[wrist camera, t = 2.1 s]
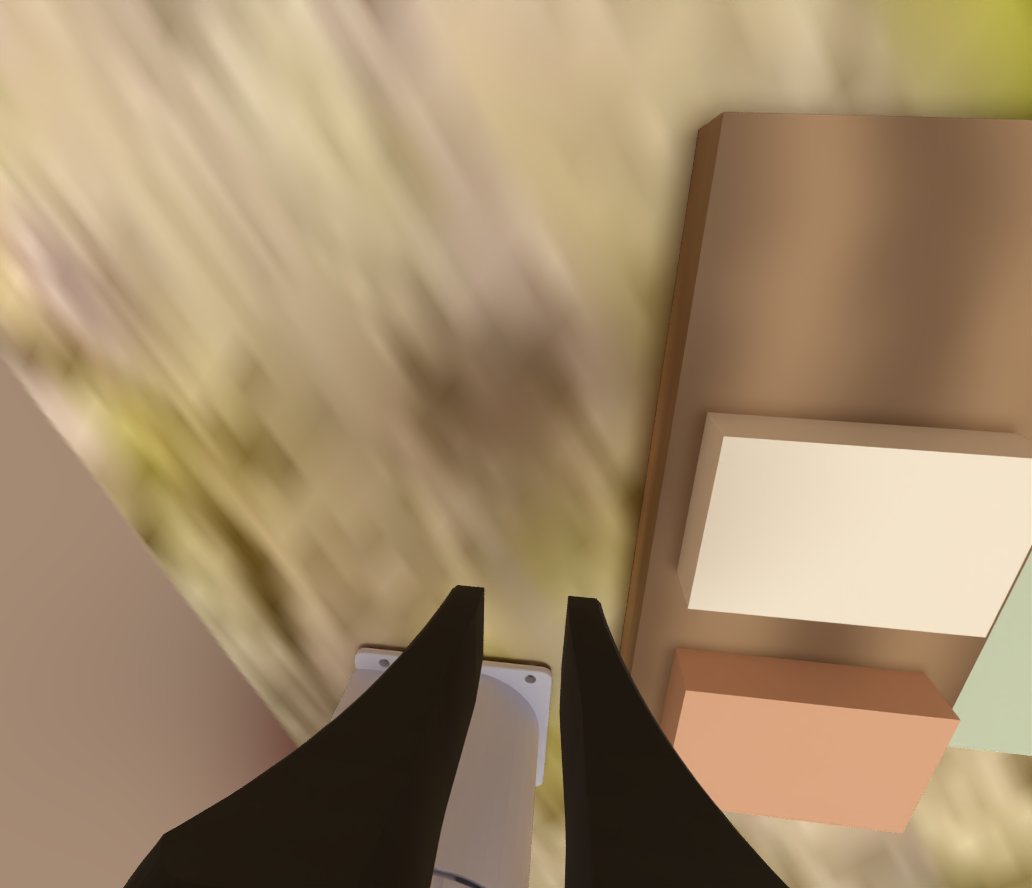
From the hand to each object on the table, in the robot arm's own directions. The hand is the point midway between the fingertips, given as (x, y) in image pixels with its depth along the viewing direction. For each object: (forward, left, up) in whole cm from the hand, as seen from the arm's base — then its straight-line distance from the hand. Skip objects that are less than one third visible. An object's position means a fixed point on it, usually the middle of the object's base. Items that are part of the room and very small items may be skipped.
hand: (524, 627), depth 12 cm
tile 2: (+10, -10, -7) cm, 15 cm away
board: (+10, -1, -10) cm, 14 cm away
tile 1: (+10, 0, -7) cm, 12 cm away
